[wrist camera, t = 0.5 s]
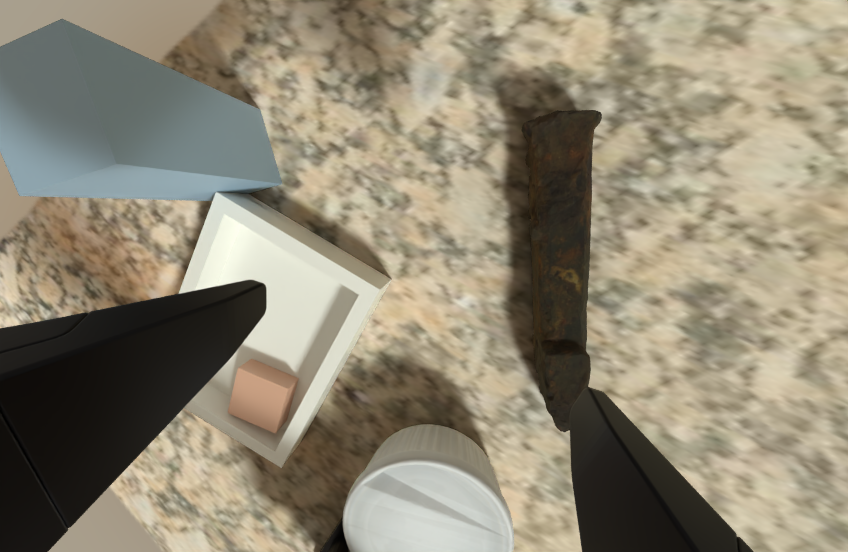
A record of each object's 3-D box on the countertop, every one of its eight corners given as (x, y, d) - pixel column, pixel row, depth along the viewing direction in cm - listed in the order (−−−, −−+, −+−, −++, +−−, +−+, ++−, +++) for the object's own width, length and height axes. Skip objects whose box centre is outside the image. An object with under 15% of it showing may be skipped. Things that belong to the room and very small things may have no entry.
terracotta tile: (286, 420, 26) (275, 433, 24) (241, 401, 26) (227, 412, 25) (298, 378, 25) (288, 389, 23) (251, 358, 25) (237, 367, 24)
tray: (301, 440, 27) (281, 468, 24) (180, 365, 27) (145, 384, 25) (391, 279, 23) (379, 289, 20) (247, 193, 23) (215, 191, 21)
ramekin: (488, 399, 24) (493, 451, 19) (519, 525, 26) (531, 603, 21) (348, 419, 26) (319, 471, 21) (386, 534, 28) (367, 608, 23)
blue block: (282, 184, 23) (116, 163, 12) (221, 201, 24) (19, 196, 13) (260, 109, 22) (62, 18, 11) (198, 130, 23) (-38, 64, 12)
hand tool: (517, 127, 20) (529, 104, 16) (586, 122, 20) (619, 97, 15) (510, 402, 24) (518, 447, 20) (568, 405, 23) (590, 453, 19)
